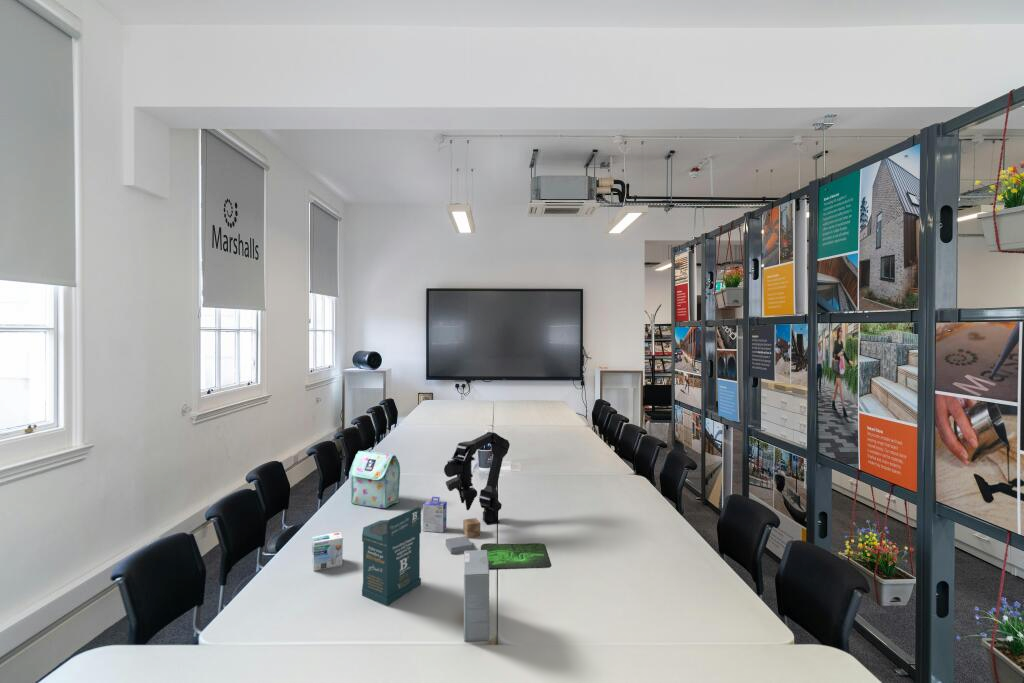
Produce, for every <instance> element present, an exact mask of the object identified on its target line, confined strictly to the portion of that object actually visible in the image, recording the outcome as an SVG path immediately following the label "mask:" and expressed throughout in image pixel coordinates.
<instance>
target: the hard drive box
mask: <svg viewBox="0 0 1024 683" xmlns="http://www.w3.org/2000/svg"><path fill="white" fill-rule="evenodd" d="M463 553H464V554H463V555H464V556H463V641H464V642H478V641H481V642H482V641H490V569H489V562H488V551H487V550H481V549H478V550H477V549H476V550H475V549H473V550H471V551H464V552H463Z"/></svg>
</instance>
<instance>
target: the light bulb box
mask: <svg viewBox="0 0 1024 683" xmlns="http://www.w3.org/2000/svg"><path fill="white" fill-rule="evenodd" d="M311 540H312V542H311V543H312V544H311V546H312V547H311V565H312V570H313V572H315V571H320V570H328V569H333V568H337V567H338V568H339V567H342V566H343V553H344V552H343V548H344V547H343V546H344V545H343V540H344V538H343V535H342V532H341V531H337V532H332V533H325V534H321V535H313V536H312V538H311Z"/></svg>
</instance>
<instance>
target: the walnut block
mask: <svg viewBox="0 0 1024 683" xmlns="http://www.w3.org/2000/svg"><path fill="white" fill-rule="evenodd" d="M462 524H463V525H462V526H463V528H462V529H463V530H462V534H464V535H463V536H467V538H468V539H471V538H478V537H481V522H480V520H479V519H478V518H477V517H474V518H466V519H463V522H462Z"/></svg>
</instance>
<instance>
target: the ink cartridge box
mask: <svg viewBox="0 0 1024 683" xmlns="http://www.w3.org/2000/svg"><path fill="white" fill-rule="evenodd" d="M436 499H437V500H436ZM440 499H441V498H440V496H432V497H431V500H427V501H425V502H424V503H423V504H422V531H423V532H433V533H444V532H445V531H446V530H447V514H448V512H447V508H448V507H447V506H448V505H447V501H440Z"/></svg>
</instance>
